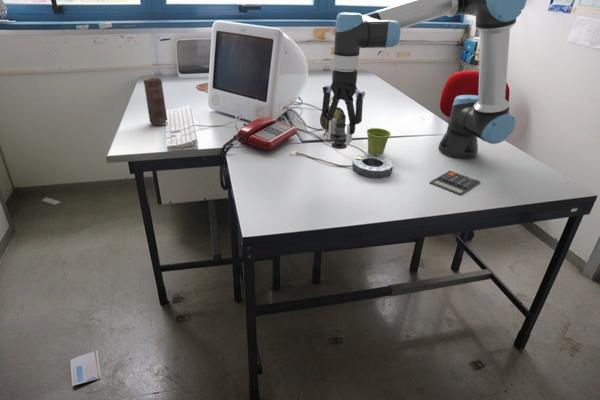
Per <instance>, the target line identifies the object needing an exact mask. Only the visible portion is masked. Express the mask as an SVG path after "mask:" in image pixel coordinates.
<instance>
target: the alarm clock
mask: <svg viewBox="0 0 600 400" xmlns="http://www.w3.org/2000/svg"><path fill="white" fill-rule="evenodd" d="M332 99H333V96H331V97H330V104H331V103H332ZM330 106H331V105H329V109H330ZM341 111H342V112H343V114H345V112H344V110H343V108H341V107H339V106H337V108H336V110H335V113H334V116H333V118H332V119H335V124H336V123H337V115H338V114H340V113H341ZM319 123H320V126H321V128H322V129H323V130H325V132H324V133H323V135H324V136H326V134H327V133H328V131H329V129H327V119H326V118H325V117H322V113H321V114H320V118H319ZM335 131H336V125H335V126H334V133H335Z"/></svg>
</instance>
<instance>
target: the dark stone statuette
mask: <svg viewBox="0 0 600 400" xmlns="http://www.w3.org/2000/svg"><path fill="white" fill-rule="evenodd" d="M346 117H347V116H346V114H345V113H344V114H343V112H342V111H341V113H340V114H338V115H337V123H336V124H335V125H336V131H335V132H334V133H333V134H331V137H332V139H331V140H332V142H333V143H331V144H330V146H331V147H332V148H333V149H336V150H343V149H344V150H345V149H346V148H348V144H346V134H347V133H346V127H347V124H346V119H347V118H346Z"/></svg>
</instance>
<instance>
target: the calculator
mask: <svg viewBox="0 0 600 400" xmlns="http://www.w3.org/2000/svg"><path fill="white" fill-rule="evenodd" d="M480 183H481V181H480V180H478V179H475V178H471V177H469V176H466V175H463V174H460V173H458V172H456V171H452V170H448V171H447V172H445V173H443V174H441V175H439V176H438V177H436V178H434V179H432V180H431V181H429V185H432V184H433V185H432V186H435V185H436V186H435V187H437V186H438V188H440V187H441V189H442V188H443V190H446V191H447V190H448V192H449V193H452V192H453V194H455V195H457V194H458V195H457V196H463V195H464V194H465V193H467V192H468V191H470V190H471V189H473V188H475V187H476V186H477V185H479V184H480ZM462 194H463V195H462Z"/></svg>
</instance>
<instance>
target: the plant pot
mask: <svg viewBox="0 0 600 400" xmlns="http://www.w3.org/2000/svg"><path fill="white" fill-rule="evenodd" d="M366 134H367V153H369V154H368V155H377V156H382V155H383V154H384V152H385V149H386V146H387V142H388V140H389V138H390V137H391V135H392V134H391V132H390V131H389V130H387V129H383V128H381V127H380V128H378V127H374V128H373V127H372V128H368V129H367V130H366Z"/></svg>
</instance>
